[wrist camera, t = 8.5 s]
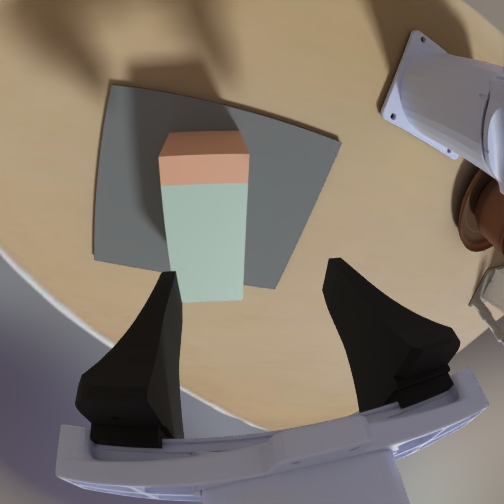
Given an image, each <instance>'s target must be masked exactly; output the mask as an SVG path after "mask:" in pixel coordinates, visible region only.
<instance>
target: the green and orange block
mask: <svg viewBox="0 0 504 504" xmlns="http://www.w3.org/2000/svg"><path fill="white" fill-rule="evenodd" d="M249 156H250V154H249V151H248V149H247V147H246V145H245V142H244V140H243V138H242V136H241V133H240V131H193V132H173V133H169V135H168V137H167V139H166V141H165V143H164V146H163V148H162V150H161V152H160V155H159V170H160V182H161V193H162V203H163V213H164V222H165V230H166V238H167V246H168V254H169V261H170V268H171V271H176V274H177V280H178V285H179V290H180V295H181V300H182V303H186V302H209V301H229V300H243V280H244V258H245V236H246V215H247V195H248V175H249Z"/></svg>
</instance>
